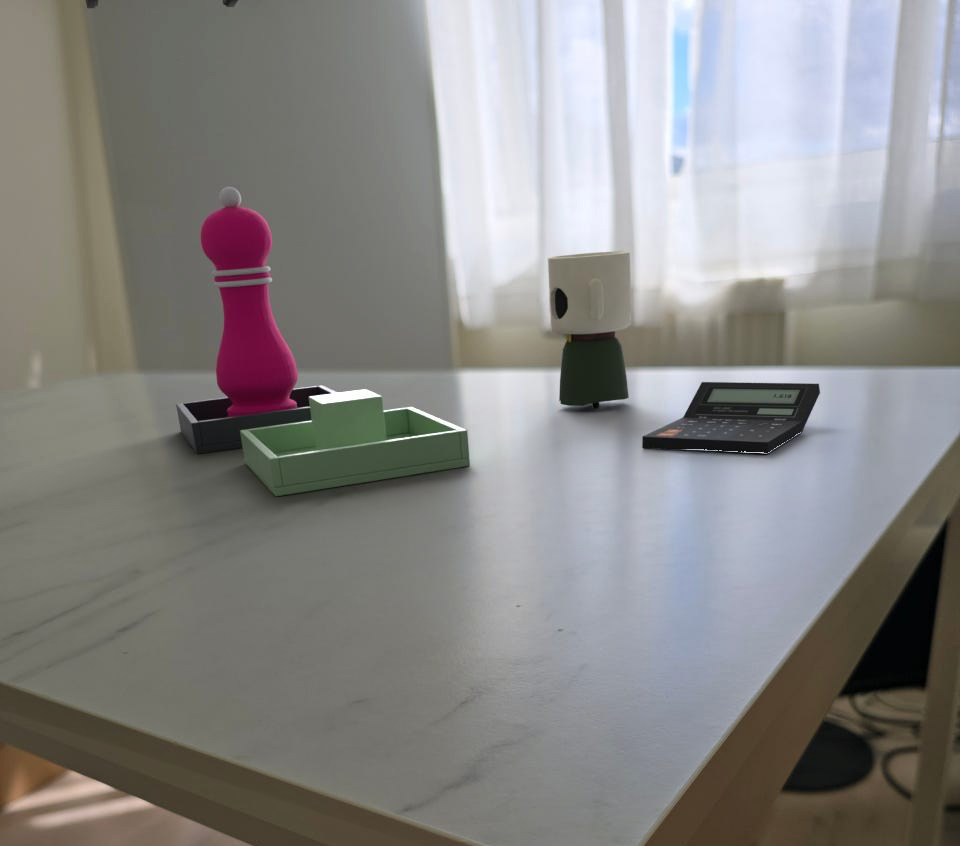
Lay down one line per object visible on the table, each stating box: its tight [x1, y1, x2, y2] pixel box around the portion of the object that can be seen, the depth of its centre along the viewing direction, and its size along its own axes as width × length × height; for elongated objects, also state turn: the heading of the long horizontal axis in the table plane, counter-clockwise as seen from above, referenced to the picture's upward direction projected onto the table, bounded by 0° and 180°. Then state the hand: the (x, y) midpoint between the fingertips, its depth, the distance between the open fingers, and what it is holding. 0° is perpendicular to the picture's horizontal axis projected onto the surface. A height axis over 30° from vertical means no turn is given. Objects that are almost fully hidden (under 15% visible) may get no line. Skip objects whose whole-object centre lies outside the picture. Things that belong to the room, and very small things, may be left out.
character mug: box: [547, 250, 632, 410], centre depth 90 cm, size 11×7×13 cm, turn 1°
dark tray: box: [175, 384, 338, 455], centre depth 93 cm, size 14×13×3 cm
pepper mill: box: [200, 186, 299, 417], centre depth 90 cm, size 7×7×20 cm
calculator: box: [641, 381, 821, 453], centre depth 76 cm, size 9×12×3 cm
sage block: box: [309, 388, 387, 451], centre depth 76 cm, size 4×4×4 cm
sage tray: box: [240, 406, 471, 497], centre depth 77 cm, size 14×13×3 cm
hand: (163, 3), depth 73 cm, fingers open, 9 cm apart
